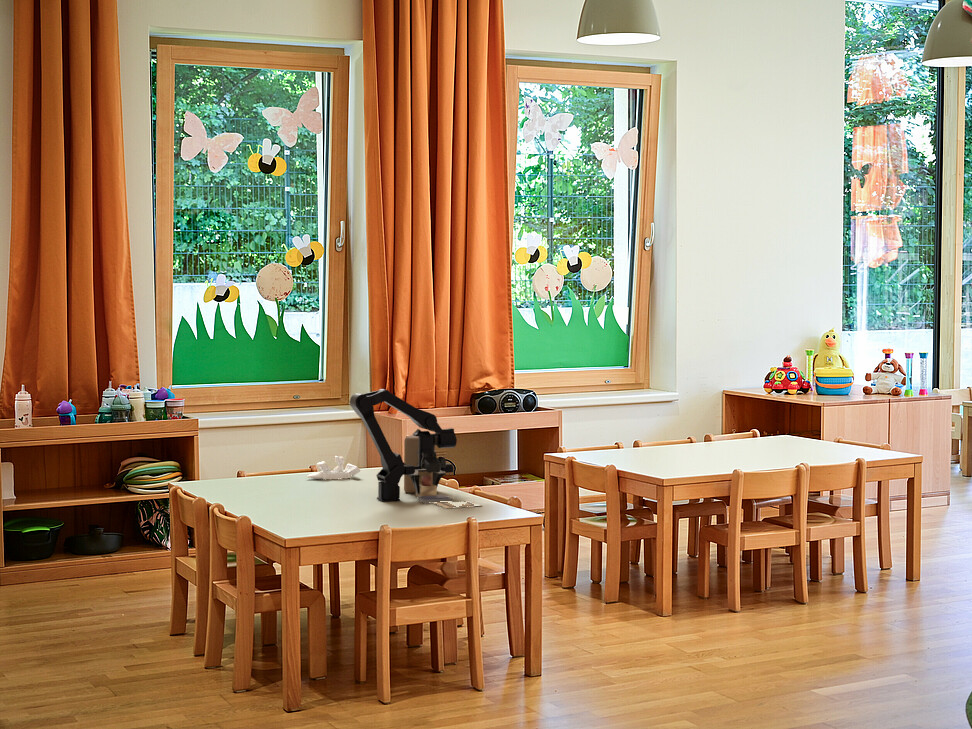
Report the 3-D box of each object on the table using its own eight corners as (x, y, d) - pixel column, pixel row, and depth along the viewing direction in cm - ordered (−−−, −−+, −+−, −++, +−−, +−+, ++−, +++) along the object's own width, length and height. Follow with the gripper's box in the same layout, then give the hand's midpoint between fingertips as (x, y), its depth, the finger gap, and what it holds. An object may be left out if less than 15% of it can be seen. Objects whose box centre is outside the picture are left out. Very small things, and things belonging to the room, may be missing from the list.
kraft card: (446, 509, 374) (446, 507, 374) (433, 503, 384) (433, 502, 384) (482, 506, 380) (482, 505, 380) (468, 501, 390) (468, 500, 390)
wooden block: (435, 489, 416) (435, 435, 415) (431, 494, 406) (431, 438, 405) (408, 489, 417) (408, 434, 416) (403, 493, 407) (403, 437, 406)
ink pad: (425, 503, 385) (425, 499, 384) (417, 500, 391) (417, 496, 391) (452, 501, 389) (452, 497, 389) (444, 498, 395) (444, 494, 395)
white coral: (302, 478, 442) (302, 455, 442) (352, 475, 451) (352, 453, 450) (310, 482, 432) (310, 458, 432) (361, 479, 440) (361, 456, 440)
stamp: (421, 499, 393) (421, 478, 393) (415, 497, 398) (416, 475, 398) (436, 498, 396) (436, 477, 395) (430, 496, 401) (430, 475, 400)
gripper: (409, 452, 385) (409, 498, 386) (460, 450, 393) (460, 495, 394) (398, 448, 395) (397, 493, 396) (447, 446, 403) (447, 490, 404)
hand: (426, 493), depth 397 cm, fingers open, 6 cm apart
